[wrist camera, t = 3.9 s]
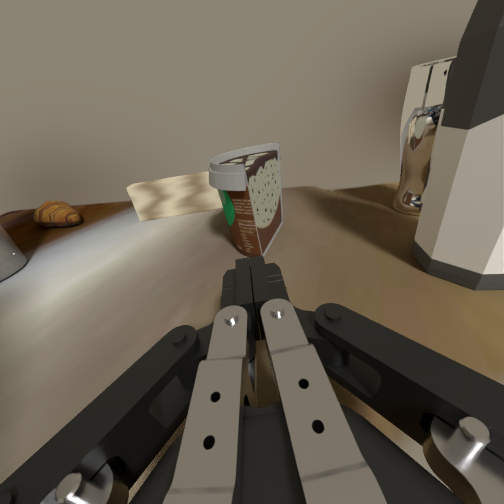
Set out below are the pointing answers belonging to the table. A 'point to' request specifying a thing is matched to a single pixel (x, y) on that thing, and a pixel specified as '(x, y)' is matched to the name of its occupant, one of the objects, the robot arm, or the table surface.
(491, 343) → the table surface
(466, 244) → the wine bottle
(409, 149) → the beer glass
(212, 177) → the food container
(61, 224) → the croissant
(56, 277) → the table surface
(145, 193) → the maple board
